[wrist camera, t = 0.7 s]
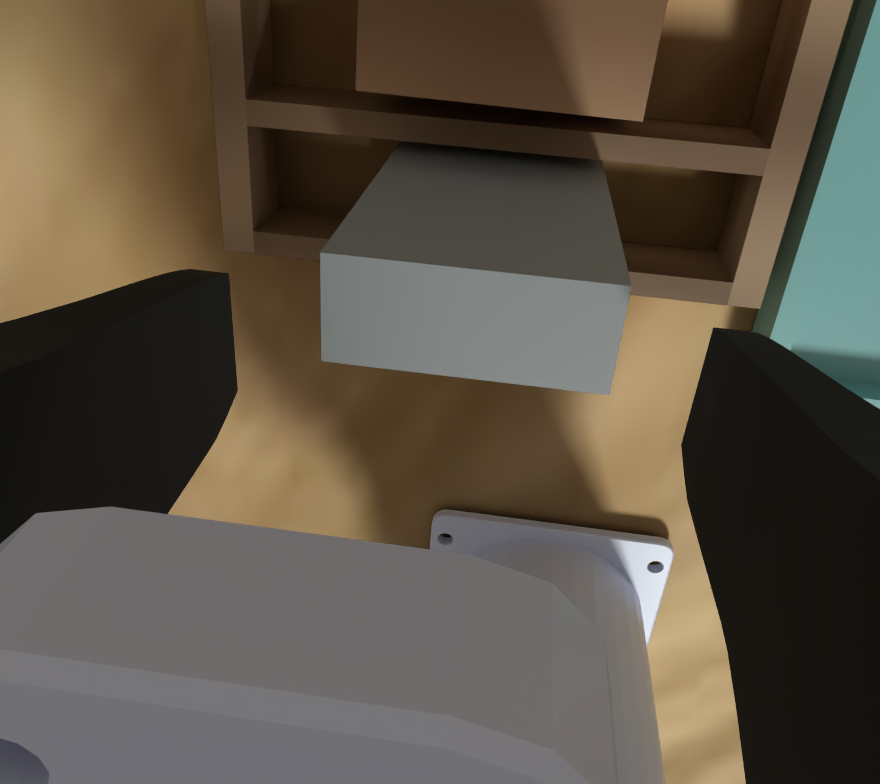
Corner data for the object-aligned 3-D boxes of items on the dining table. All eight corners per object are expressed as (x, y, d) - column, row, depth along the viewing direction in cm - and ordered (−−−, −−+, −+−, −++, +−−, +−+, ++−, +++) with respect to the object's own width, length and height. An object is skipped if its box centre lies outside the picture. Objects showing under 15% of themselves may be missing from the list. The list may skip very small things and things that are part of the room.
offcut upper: (633, 105, 18) (642, 121, 16) (373, 77, 18) (355, 90, 16) (663, -46, 16) (676, -45, 15) (379, -73, 17) (360, -76, 15)
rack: (741, 275, 21) (760, 308, 19) (252, 223, 22) (224, 250, 20) (843, -88, 17) (880, -91, 15) (231, -133, 18) (193, -141, 16)
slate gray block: (586, 226, 21) (609, 395, 13) (403, 207, 21) (321, 361, 14) (600, 151, 20) (632, 286, 12) (406, 132, 20) (319, 252, 13)
